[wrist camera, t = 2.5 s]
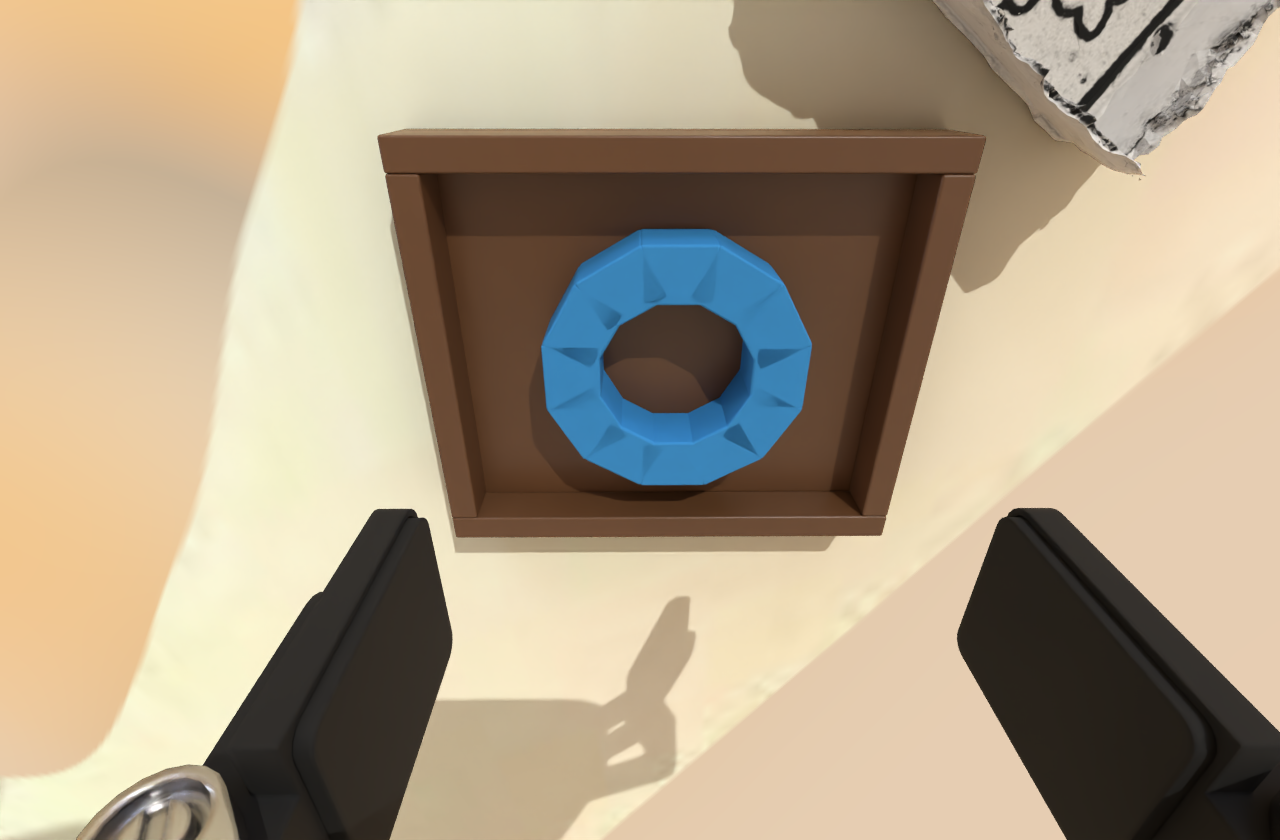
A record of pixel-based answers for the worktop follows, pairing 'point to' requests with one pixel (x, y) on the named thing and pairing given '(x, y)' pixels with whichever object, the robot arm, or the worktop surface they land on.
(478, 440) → the tray
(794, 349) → the ring
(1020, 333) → the worktop surface
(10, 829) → the worktop surface
